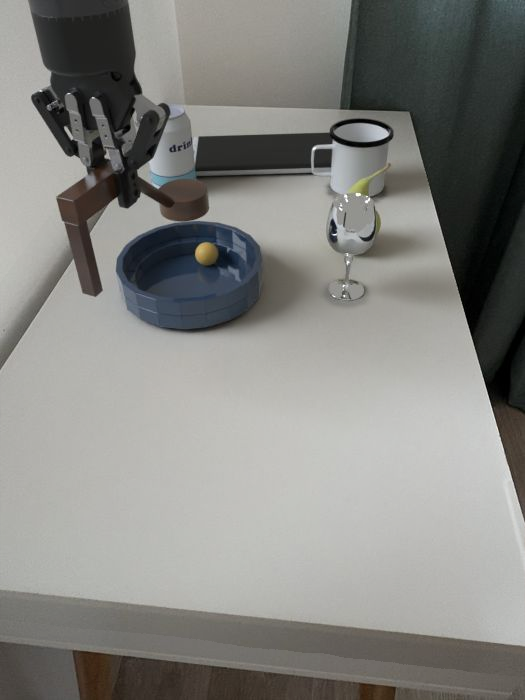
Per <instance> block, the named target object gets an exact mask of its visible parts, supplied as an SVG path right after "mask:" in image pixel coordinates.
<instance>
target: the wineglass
mask: <svg viewBox="0 0 525 700" xmlns="http://www.w3.org/2000/svg"><path fill="white" fill-rule="evenodd" d="M375 209H376V205H375V201H374V200H373V198H371V197H368V196H366V195H363V194H357V193H347V194H342V195H340V194H338V195H337V196H336V197H335V198H334V199H333V200H332V202H331V205H330V208H329V211H328V214H327V215H328V216H327V220H326V227H325V228H326V229H325V230H326V231H325V232H326V240H327V243H328V244H329V246H330V248H332V250H333V251H335V252H336V253H339V254H341V255H342V256H343V255H345V256H344V259H343V260H344V264H345V275H344V278H339V279H335V280H333V281H331V283H329V285H328V287H327V290H328V291H327V292H328V293H329V295H330V296H332V297H333V298H334V299H337V300H341V301H355V300H358V299H360V298H361V297H362V296H363V295H364V294H365V288H364V286H363V285H362V284H361V282H359V281H357V280H354V279H350V270H351V267H352V264H353V261H354V256H358V255H362V254H363V253H365V252H367V251H368V250H369V249H371V247H373V244H374V242H375V239H376V238H375V236H376V230H377V219H376V211H377V209H376V210H375ZM376 237H377V236H376Z"/></svg>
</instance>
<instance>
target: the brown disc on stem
mask: <svg viewBox="0 0 525 700" xmlns="http://www.w3.org/2000/svg"><path fill="white" fill-rule="evenodd" d="M113 172H114V169H113V167H112V163H111V160H110V159H109V161H107V162H106V163H104V164H103V165H101V166H100V167H98V168H97V169H96V170H94V171H93V172H91V173H90V174H88V173H87V175H85V176H84V177H82V178H81V179H79V180H78V181H77V182H75V183H73V184H72V185H70V186H69V187H68V188H67V189H65V190H64V191H62V192H60V193H59V194H58V195H56V197H55V199H56V203H57V208H58V211H59V214H60V218H61V221H62V222H63V223H64V228H65V231H66V235H67V239H68V243H69V246H70V250H71V254H72V258H73V261H74V265H75V270H76V275H77V277H78V281H79V285H80V289H81V293H82V294H83V295H88V296H91V297H94V298H97V297H98V296H99V295H100V294H101V293H102V292H103V291H104V289H103V284H102V281H101V280H102V279H101V276H100V271H99V267H98V264H97V260H96V255H95V250H94V246H93V242H92V238H91V233H90V228H89V223H88V220H90V218H92V217H93V216H95V215H96V214H97V213H99V212H100V211H101V210H103V209H104V208H105V207H106V206H107V205H109V204H111V202H113V201H114V200H115V199H118V198H117V191H116V186H115V181H114V176H113ZM138 179H139V185H140V191H141V194H143V195H145V196H147V197H148V198H149V199H151V200H153V201H155V202H156V203H158V205H159V212H160V214H161V216H162V217H163V218H164V219H167V220H169V221H172V222H189V221H197V220H199V219H201V218H202V217H204V216H206V215H207V214H208V213H209V210H210V202H209V201H210V200H209V189H208V186H207V185H206V183H204V182H203V181H201V180H198V179H196V180H194V179H177V180H173V181H170V182H167V183H165V184H163V185H162V186H161V187H160V188H159V189H157V188H156V187H154V186H153V184H151V183H149V182H148V181H146V180H145V179H143V178H142V177H140V176H139V175H138Z"/></svg>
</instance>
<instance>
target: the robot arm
mask: <svg viewBox="0 0 525 700" xmlns="http://www.w3.org/2000/svg"><path fill="white" fill-rule="evenodd" d="M27 2H28V7H29V11H30V15H31V19H32V23H33V27H34V31H35V36H36V40H37V44H38V48H39V52H40V56H41V57H40V58H41V61H42V64H43V66H44V67H45V69H47V71H49V72H50V77H49V84H50V85H48V86H46V87H43V88H41V89H39V90H37V91H36V92H34V93H32V94H31V95H30V96H31V97H30V99H31V102H32V104H33V106H34V108H35V109H36V111H37V112H38V114H39V115H40V117H41V118H42V120H43V122H44V123H45V125H46V127H47V128H48V130H49V131H50V132H51V134H52V135H53V138H54V139H55V140H56V142H57V144H58V146H60V148H61V149H62V152H63V153H64V154H65V155H66V156H67V157H70V158H72V157H74V156H75V157H76V158H78V159H79V160H80V162H81V164H82V165H83V166H85V167H86V168H85V169H86V172H87V175H88V174H90V173H91V172H93V171H94V170H96V169H97V168H98V167H100V166H101V165H103V164H104V163H106V162H107V161H109V160H111V163H112V167H113V169H114V172H113V176H114V181H115V186H116V191H117V198H116V199H117V203H118V206H119V208H123V209H127V210H128V209H129V208H131V207H132V206H133V205H135V204H136V203H137V202H138V199H140V197H141V194H142V192H141V191H140V185H139V179H138V176H139V173H138V170H139V169H141V168H142V167H144V166H145V165H146V164H147V163H149V161H150V160H151V159H153V157H154V155H155V152H156V150H157V147H158V145H159V142H160V139H161V137H162V134H163V132H164V129H165V126H166V124H167V121H168V118H169V116H170V108H169V106H168V105H167V104H168V103H165V102H160V103H159V104H156V103H154V102H153V101H152V100H151V99H149V98H148V97H146V96H145V95H144V94H143V88H142V85H141V83H140V81H139V80H138V78H137V75H136V73H135V64H136V58H137V50H136V45H135V39H134V38H135V37H134V29H133V24H132V18H131V10H130V3H129V0H27ZM135 113H136V120H135V121H134V114H135ZM65 127H66V129H67V130H68V131H69V133H70V135H71V136H72V139H71V137H70V135H69V134H68V132H67V131H66V129H65ZM136 127H138V129H137V128H136ZM107 151H108V156H109V158H107V157H105V156H106V155H107Z"/></svg>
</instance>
